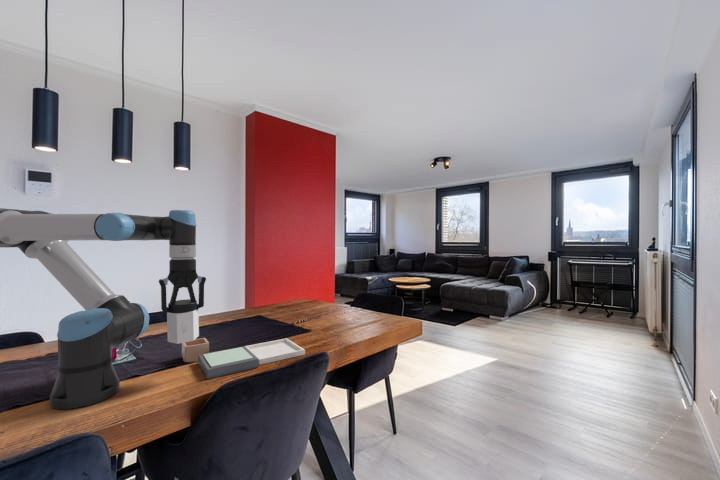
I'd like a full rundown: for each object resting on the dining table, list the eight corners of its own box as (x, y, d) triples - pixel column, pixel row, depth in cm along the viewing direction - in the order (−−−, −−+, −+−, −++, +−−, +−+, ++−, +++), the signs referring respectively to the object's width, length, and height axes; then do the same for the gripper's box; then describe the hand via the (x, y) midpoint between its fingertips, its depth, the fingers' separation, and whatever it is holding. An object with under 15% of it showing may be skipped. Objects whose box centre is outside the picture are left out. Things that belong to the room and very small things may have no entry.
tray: (259, 364, 115) (259, 359, 115) (244, 350, 130) (244, 346, 130) (305, 354, 126) (305, 349, 126) (286, 342, 140) (286, 338, 140)
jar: (169, 345, 100) (168, 306, 99) (166, 338, 106) (164, 301, 106) (201, 339, 105) (200, 302, 105) (196, 333, 112) (195, 298, 111)
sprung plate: (211, 369, 105) (211, 366, 105) (203, 357, 116) (203, 354, 116) (253, 360, 113) (253, 357, 113) (241, 349, 124) (241, 347, 124)
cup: (184, 364, 116) (184, 347, 116) (181, 357, 123) (181, 341, 122) (209, 359, 121) (209, 343, 121) (205, 353, 127) (205, 337, 127)
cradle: (207, 379, 104) (207, 369, 104) (198, 363, 117) (198, 355, 117) (258, 367, 113) (258, 358, 113) (244, 354, 126) (244, 346, 126)
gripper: (151, 260, 98) (151, 338, 98) (214, 258, 108) (214, 329, 108) (149, 258, 104) (150, 332, 104) (209, 257, 114) (210, 324, 114)
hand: (183, 331), depth 106 cm, fingers closed on jar, 4 cm apart
